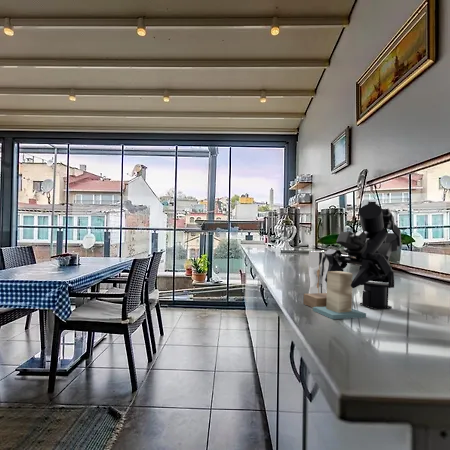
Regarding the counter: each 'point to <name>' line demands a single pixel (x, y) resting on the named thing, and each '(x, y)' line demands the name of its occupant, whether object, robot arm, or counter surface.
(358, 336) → the counter surface
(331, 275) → the maple block
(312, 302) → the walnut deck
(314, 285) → the beer glass
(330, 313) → the teal mat
